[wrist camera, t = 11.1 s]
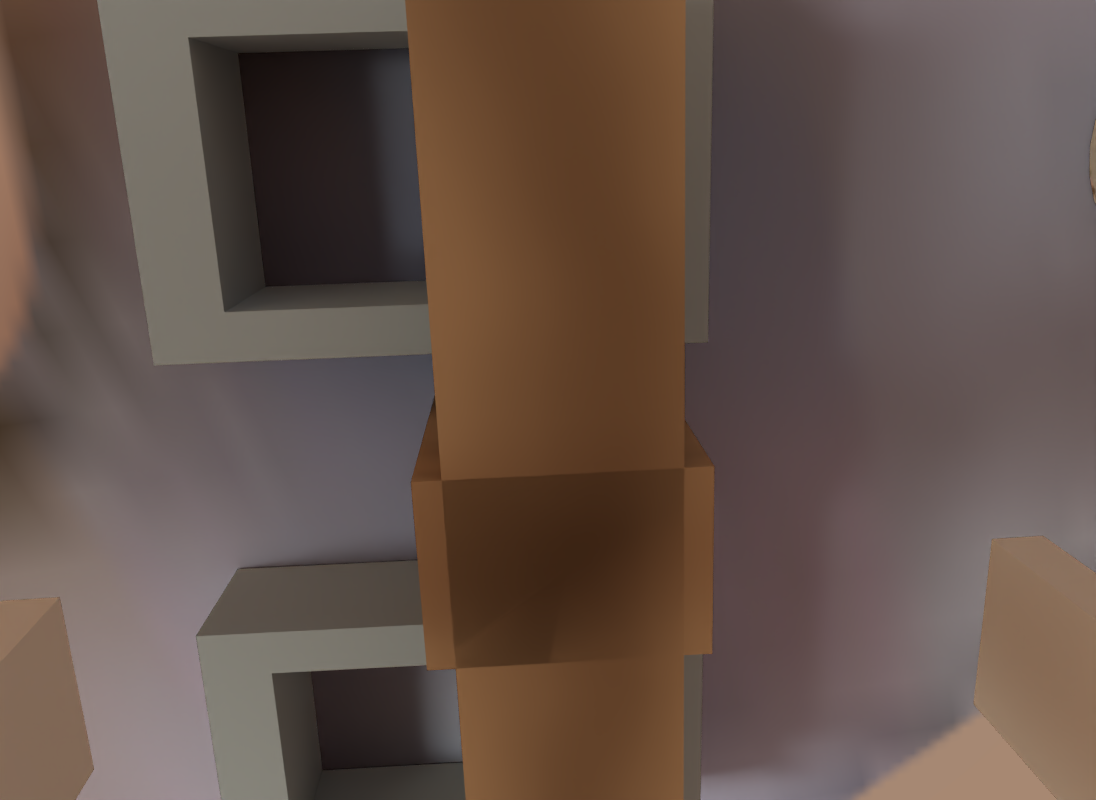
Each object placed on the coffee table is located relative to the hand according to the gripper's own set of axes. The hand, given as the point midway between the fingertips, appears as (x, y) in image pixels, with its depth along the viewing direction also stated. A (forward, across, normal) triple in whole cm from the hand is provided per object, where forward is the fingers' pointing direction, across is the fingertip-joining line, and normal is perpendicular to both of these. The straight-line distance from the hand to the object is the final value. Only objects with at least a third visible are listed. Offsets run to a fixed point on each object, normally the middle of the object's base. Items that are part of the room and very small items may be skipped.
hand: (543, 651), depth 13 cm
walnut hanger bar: (+10, +1, 0) cm, 10 cm away
